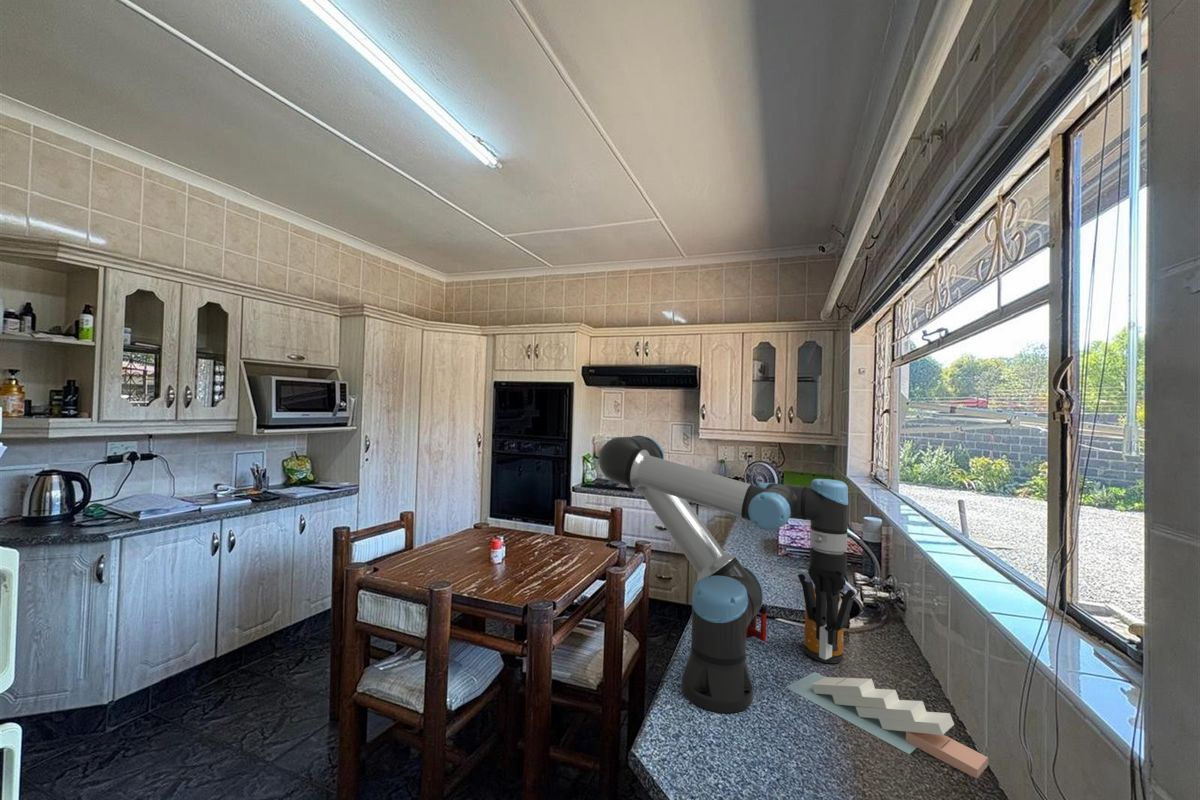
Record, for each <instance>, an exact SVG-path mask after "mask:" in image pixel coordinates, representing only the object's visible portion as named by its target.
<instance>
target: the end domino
mask: <svg viewBox="0 0 1200 800" xmlns="http://www.w3.org/2000/svg"><path fill="white" fill-rule="evenodd" d="M906 742H908V743H910V744H912V745H914V746H915V747H917V748H916V749H918V750H922V752H925V753H926V754H928V755H930V756H932V757H934V758H936V759H938V760H939V761H941V762H944V763H946V764H948V765H950V766H951V767H953V768H955V769H957V770H959V771H961V772H962V773H965V774H966V775H969V776H970V777H972V778H974V779H976V780H977V779H978V778H980V776H981V775H982V774H983V772H984V771H985V770H986V768H987V767H988V763H989V757H988V756H985V754H982V753H980V752H978V751H976V750H975V749H972V748H970V747H968V746H966V745H965V744H962V743H961V742H959V741H957V740H955V739H954V738H952V737H949V736H947V735H945V734H943V735H938V734H927V733H917V732H907V731H906Z"/></svg>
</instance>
